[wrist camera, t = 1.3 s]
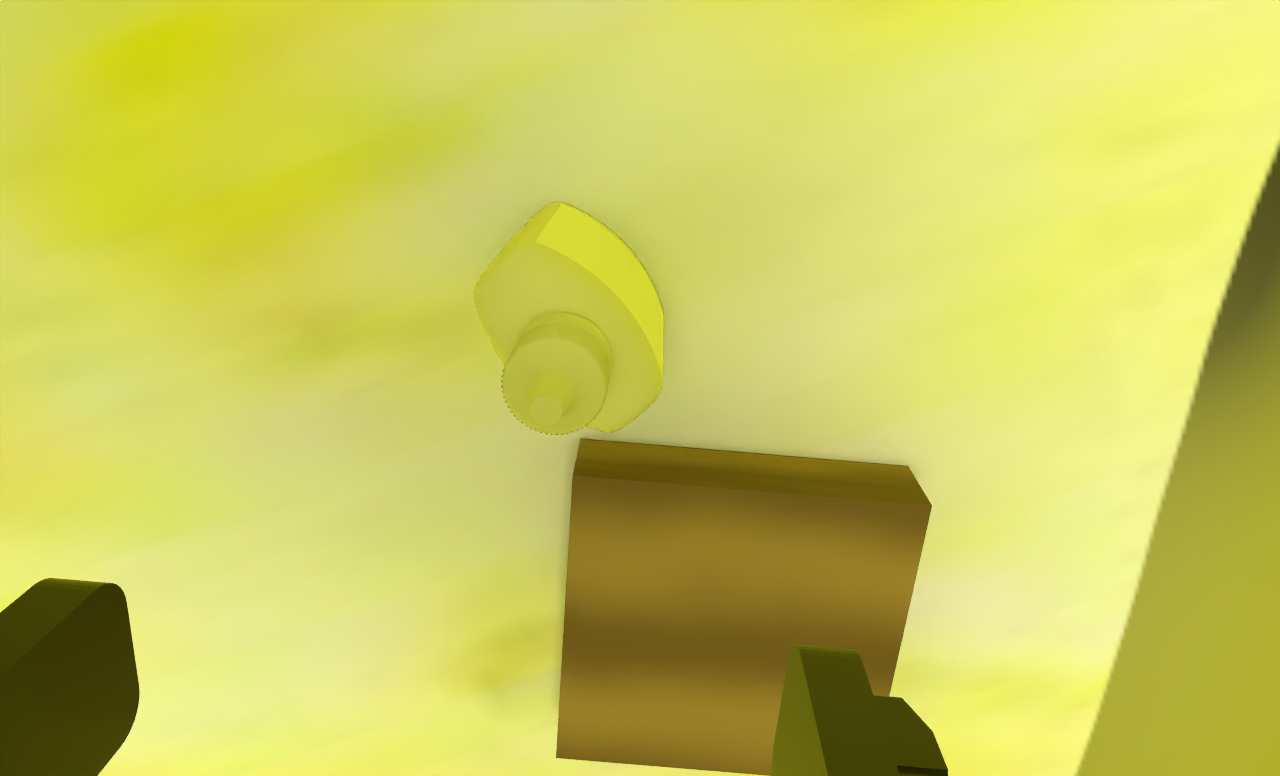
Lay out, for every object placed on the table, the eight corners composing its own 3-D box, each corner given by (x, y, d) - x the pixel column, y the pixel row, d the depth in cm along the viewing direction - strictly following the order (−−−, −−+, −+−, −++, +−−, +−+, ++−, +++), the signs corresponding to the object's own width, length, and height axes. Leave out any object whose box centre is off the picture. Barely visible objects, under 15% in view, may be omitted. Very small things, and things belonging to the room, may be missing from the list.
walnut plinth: (580, 438, 32) (572, 475, 29) (908, 466, 32) (932, 505, 29) (564, 703, 36) (556, 757, 33) (853, 727, 36) (869, 783, 33)
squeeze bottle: (634, 181, 28) (616, 260, 17) (670, 341, 30) (674, 506, 19) (506, 211, 29) (406, 305, 18) (549, 366, 31) (484, 542, 20)
